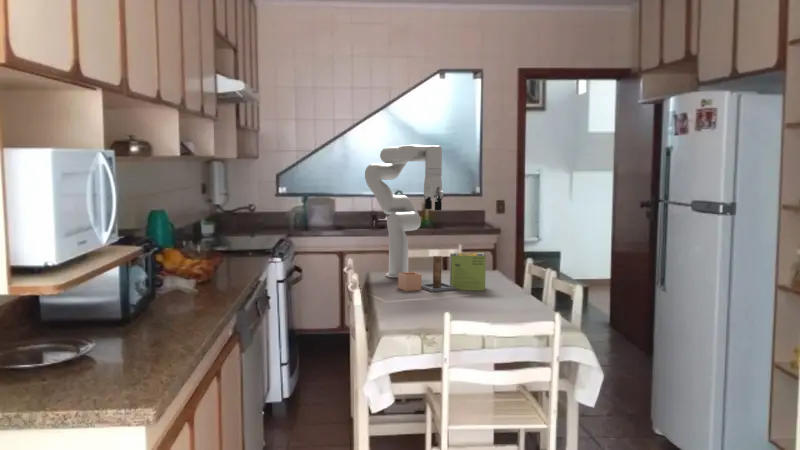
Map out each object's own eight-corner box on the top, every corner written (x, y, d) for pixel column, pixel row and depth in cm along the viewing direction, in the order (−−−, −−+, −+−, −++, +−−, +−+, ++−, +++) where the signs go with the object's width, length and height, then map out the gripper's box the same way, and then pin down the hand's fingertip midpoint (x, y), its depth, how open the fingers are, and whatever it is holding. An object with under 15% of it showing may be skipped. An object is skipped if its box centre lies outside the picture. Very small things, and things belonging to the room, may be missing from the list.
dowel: (431, 287, 320) (431, 255, 319) (438, 286, 322) (439, 255, 320) (435, 288, 317) (435, 257, 316) (442, 288, 319) (442, 256, 317)
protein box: (485, 290, 320) (486, 255, 319) (450, 290, 321) (451, 255, 319) (483, 286, 331) (483, 252, 330) (449, 286, 331) (449, 252, 330)
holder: (398, 289, 321) (398, 272, 321) (413, 288, 324) (413, 271, 324) (405, 292, 314) (405, 275, 314) (421, 291, 318) (421, 274, 317)
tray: (418, 289, 322) (418, 284, 322) (442, 287, 327) (442, 282, 327) (431, 293, 312) (431, 288, 311) (455, 291, 317) (455, 286, 316)
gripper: (417, 172, 340) (417, 208, 342) (434, 172, 325) (434, 211, 326) (432, 172, 343) (431, 208, 345) (449, 172, 328) (449, 210, 329)
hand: (433, 209), depth 336 cm, fingers open, 9 cm apart
